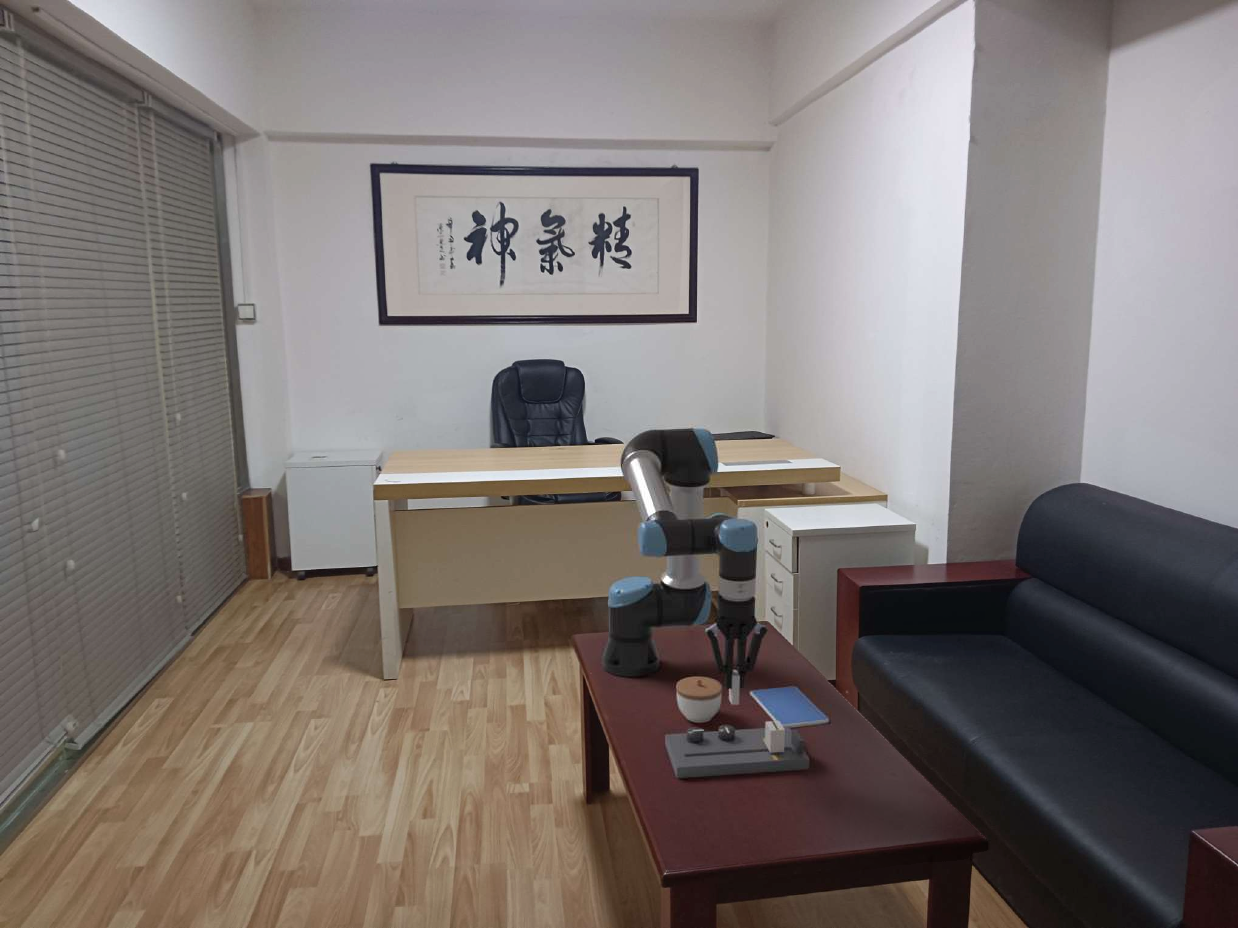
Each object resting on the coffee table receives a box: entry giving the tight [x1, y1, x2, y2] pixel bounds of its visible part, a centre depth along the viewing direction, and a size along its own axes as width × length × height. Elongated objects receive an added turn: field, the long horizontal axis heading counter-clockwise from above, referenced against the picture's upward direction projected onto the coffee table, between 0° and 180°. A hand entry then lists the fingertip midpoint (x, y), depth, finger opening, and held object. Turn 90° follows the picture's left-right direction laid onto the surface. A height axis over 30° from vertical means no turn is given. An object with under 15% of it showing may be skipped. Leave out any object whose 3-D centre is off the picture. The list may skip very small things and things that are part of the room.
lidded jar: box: [675, 676, 723, 724], centre depth 209 cm, size 11×11×9 cm
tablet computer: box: [749, 685, 830, 729], centre depth 214 cm, size 19×13×1 cm, turn 13°
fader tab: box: [764, 720, 785, 753], centre depth 189 cm, size 4×3×5 cm
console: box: [664, 724, 810, 779], centre depth 191 cm, size 14×28×5 cm, turn 97°
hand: (733, 701), depth 187 cm, fingers closed
